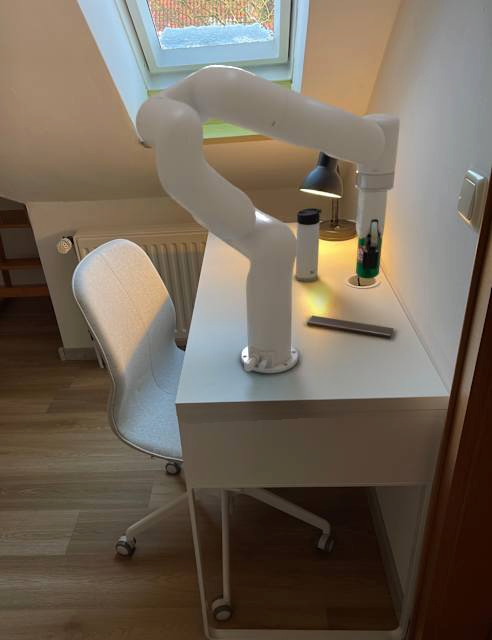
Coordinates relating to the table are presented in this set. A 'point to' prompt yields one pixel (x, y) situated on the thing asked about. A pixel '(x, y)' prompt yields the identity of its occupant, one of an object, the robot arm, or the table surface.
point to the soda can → (359, 271)
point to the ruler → (350, 327)
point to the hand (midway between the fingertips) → (367, 262)
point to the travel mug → (307, 244)
